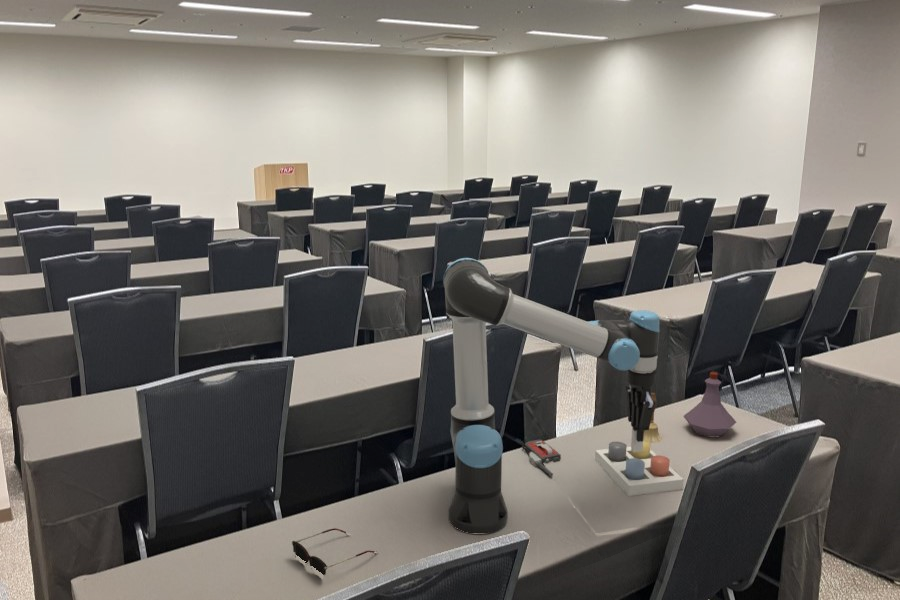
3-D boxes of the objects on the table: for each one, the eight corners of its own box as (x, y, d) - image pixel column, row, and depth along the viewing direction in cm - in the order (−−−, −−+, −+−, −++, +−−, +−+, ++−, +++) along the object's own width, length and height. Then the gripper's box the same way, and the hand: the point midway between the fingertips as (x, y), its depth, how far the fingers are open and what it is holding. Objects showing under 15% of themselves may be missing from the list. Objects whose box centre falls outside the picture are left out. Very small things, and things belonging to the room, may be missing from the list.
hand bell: (631, 437, 241) (634, 390, 237) (653, 433, 244) (657, 387, 240) (645, 448, 234) (648, 399, 230) (668, 444, 236) (672, 396, 232)
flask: (734, 424, 251) (740, 367, 246) (736, 445, 235) (742, 385, 230) (682, 418, 255) (687, 362, 250) (681, 438, 240) (686, 379, 235)
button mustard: (636, 460, 218) (637, 447, 217) (628, 452, 222) (629, 439, 221) (652, 458, 219) (653, 445, 218) (644, 450, 223) (645, 438, 222)
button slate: (630, 480, 206) (631, 467, 205) (622, 472, 210) (622, 459, 209) (647, 478, 207) (648, 465, 206) (638, 470, 211) (639, 457, 210)
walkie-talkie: (515, 451, 232) (548, 480, 214) (516, 438, 231) (549, 466, 213) (540, 446, 235) (575, 474, 218) (541, 433, 234) (575, 460, 217)
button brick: (655, 477, 207) (656, 464, 206) (646, 469, 212) (647, 456, 211) (672, 475, 208) (673, 462, 207) (662, 467, 213) (664, 454, 212)
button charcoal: (612, 462, 216) (613, 449, 215) (605, 455, 221) (606, 442, 220) (628, 460, 217) (629, 448, 216) (621, 453, 222) (621, 440, 221)
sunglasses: (291, 559, 177) (291, 540, 176) (347, 537, 188) (348, 518, 187) (324, 585, 168) (325, 565, 167) (382, 560, 178) (382, 541, 177)
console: (628, 499, 203) (629, 485, 202) (594, 462, 224) (595, 450, 223) (682, 492, 207) (683, 479, 206) (644, 457, 228) (645, 444, 227)
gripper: (667, 375, 195) (661, 459, 201) (643, 359, 208) (638, 438, 214) (640, 378, 194) (635, 462, 200) (617, 361, 206) (613, 441, 212)
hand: (636, 450), depth 207 cm, fingers closed
